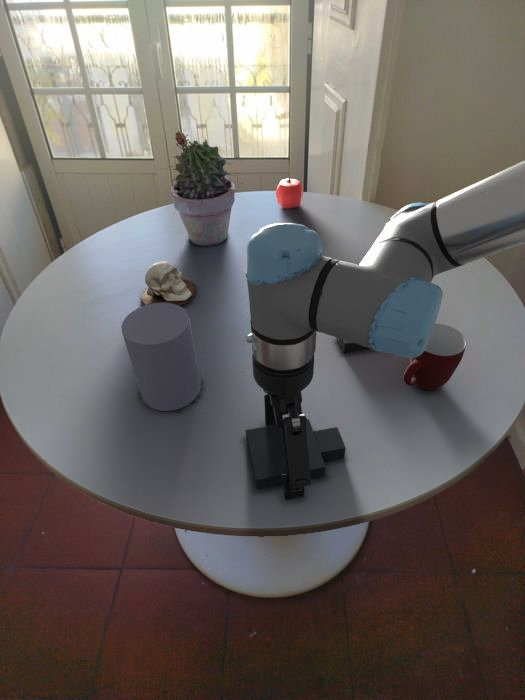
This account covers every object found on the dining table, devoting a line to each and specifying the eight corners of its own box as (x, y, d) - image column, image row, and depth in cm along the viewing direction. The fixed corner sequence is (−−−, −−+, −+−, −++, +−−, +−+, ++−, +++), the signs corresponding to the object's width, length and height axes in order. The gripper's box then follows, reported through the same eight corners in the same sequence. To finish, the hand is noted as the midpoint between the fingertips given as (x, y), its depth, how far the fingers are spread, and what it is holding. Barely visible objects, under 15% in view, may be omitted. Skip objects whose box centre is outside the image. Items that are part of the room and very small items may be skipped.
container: (213, 389, 82) (202, 322, 71) (163, 422, 76) (145, 354, 66) (178, 361, 87) (164, 294, 77) (130, 389, 82) (108, 323, 72)
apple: (306, 209, 132) (306, 182, 127) (278, 212, 131) (277, 184, 126) (300, 198, 138) (301, 171, 133) (273, 200, 137) (273, 173, 132)
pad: (349, 472, 68) (351, 462, 67) (256, 489, 67) (256, 480, 65) (331, 424, 75) (332, 414, 73) (246, 439, 73) (245, 429, 72)
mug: (425, 416, 76) (439, 372, 69) (384, 389, 80) (393, 346, 73) (460, 383, 81) (476, 339, 74) (420, 360, 85) (431, 316, 78)
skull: (211, 284, 104) (185, 269, 95) (190, 326, 104) (162, 315, 95) (172, 266, 109) (144, 250, 100) (153, 306, 109) (123, 294, 100)
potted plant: (234, 259, 114) (226, 154, 97) (162, 249, 118) (142, 147, 102) (258, 225, 126) (253, 127, 110) (191, 217, 131) (178, 122, 114)
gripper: (236, 297, 65) (245, 400, 79) (274, 439, 47) (276, 540, 61) (289, 290, 66) (288, 393, 80) (346, 426, 47) (332, 528, 62)
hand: (283, 457), depth 70 cm, fingers open, 13 cm apart
